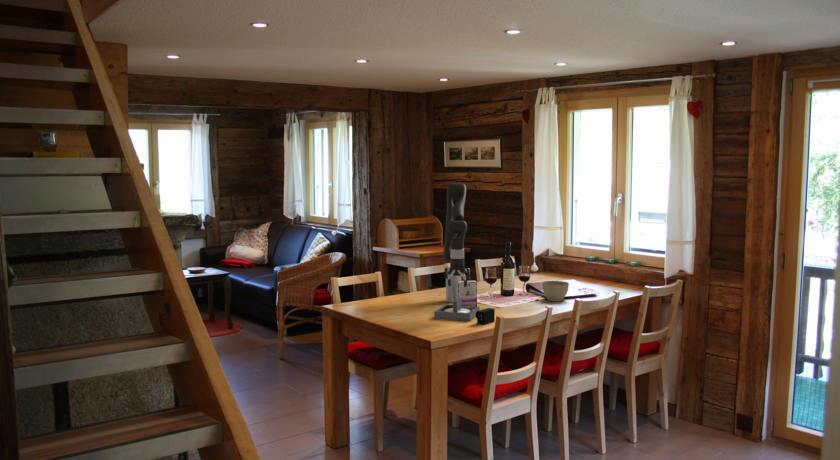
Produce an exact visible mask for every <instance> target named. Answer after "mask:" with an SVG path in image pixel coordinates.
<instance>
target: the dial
mask: <svg viewBox="0 0 840 460" xmlns="http://www.w3.org/2000/svg"><path fill="white" fill-rule="evenodd" d="M452 305H453V308H450V309H446V310H445V312H458V313H469V312H470V310H469V309H464V308H462V299H461V298H457V299H456V300H454V301H453V303H452Z"/></svg>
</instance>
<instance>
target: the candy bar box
mask: <svg viewBox="0 0 840 460" xmlns="http://www.w3.org/2000/svg"><path fill="white" fill-rule="evenodd" d="M457 298H461V299H462V306H477V307H478V281H476V280H467V286H466V287H464V280H461V281H457Z"/></svg>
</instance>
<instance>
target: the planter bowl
mask: <svg viewBox="0 0 840 460" xmlns="http://www.w3.org/2000/svg"><path fill="white" fill-rule="evenodd" d="M569 286H570V283H569V282H567V281H562V280H545V281H542V282H541V287H542V291H543V294H544V295H545V298H546V300H547V301H550V302H562V301H563V300H564V298H566V295H567V293H568V291H569Z"/></svg>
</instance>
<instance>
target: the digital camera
mask: <svg viewBox="0 0 840 460" xmlns="http://www.w3.org/2000/svg"><path fill="white" fill-rule="evenodd" d="M495 311H496V309H495V308H490V307H487V308H483V309H480V310H477V311H476V314H475V316H476V317H475V318H476V324H477V325H481V326H484V325H488V324H490V323H491V324H492V323H494V321H495V320H496V319H495V318H496V317H495V316H496V315H495Z"/></svg>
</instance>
